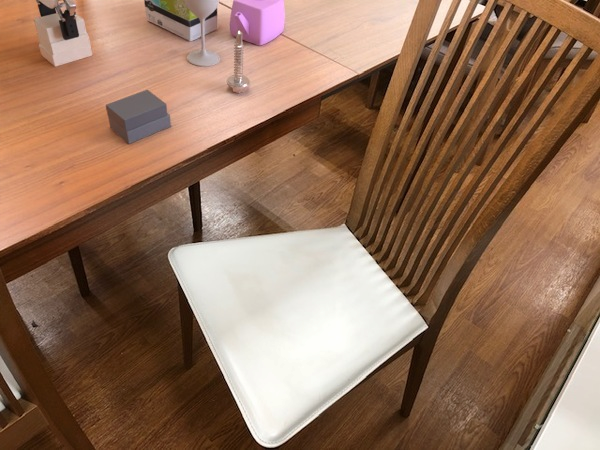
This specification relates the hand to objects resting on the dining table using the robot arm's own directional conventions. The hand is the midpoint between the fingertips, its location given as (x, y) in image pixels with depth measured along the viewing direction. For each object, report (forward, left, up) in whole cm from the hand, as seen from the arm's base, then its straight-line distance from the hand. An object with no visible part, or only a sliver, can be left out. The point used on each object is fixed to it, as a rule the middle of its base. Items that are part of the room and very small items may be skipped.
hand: (60, 29), depth 105 cm
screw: (+36, -13, -6) cm, 39 cm away
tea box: (+24, +16, -6) cm, 30 cm away
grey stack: (+17, -26, -6) cm, 32 cm away
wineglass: (+29, 0, -6) cm, 30 cm away
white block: (0, 0, -1) cm, 1 cm away
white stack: (0, 0, -6) cm, 6 cm away
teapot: (+42, +13, -6) cm, 44 cm away
